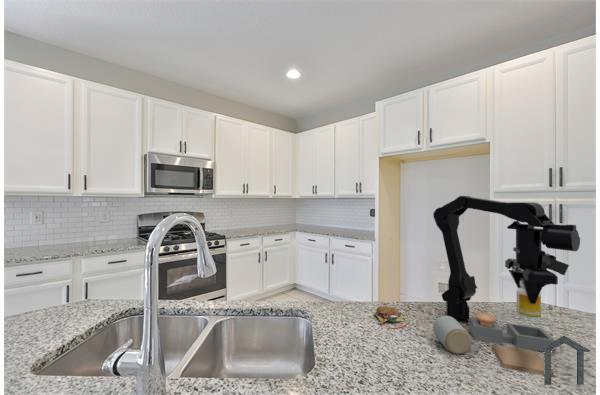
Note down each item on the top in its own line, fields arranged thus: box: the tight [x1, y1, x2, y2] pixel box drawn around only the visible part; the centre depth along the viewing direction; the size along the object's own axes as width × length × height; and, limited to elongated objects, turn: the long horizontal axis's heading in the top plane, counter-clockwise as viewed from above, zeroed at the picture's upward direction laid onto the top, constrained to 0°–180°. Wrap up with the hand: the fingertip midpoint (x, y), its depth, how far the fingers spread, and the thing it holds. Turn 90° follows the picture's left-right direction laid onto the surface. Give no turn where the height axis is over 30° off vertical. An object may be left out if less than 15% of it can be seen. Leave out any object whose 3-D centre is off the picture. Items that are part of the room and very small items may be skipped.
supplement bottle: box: [516, 281, 542, 320], centre depth 80 cm, size 5×5×10 cm
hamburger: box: [374, 305, 408, 330], centre depth 97 cm, size 14×14×6 cm
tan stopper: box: [474, 311, 497, 327], centre depth 85 cm, size 5×5×6 cm
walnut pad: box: [491, 343, 555, 378], centre depth 72 cm, size 10×10×1 cm
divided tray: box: [469, 316, 556, 355], centre depth 83 cm, size 19×9×4 cm, turn 69°
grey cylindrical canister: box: [432, 315, 480, 355], centre depth 78 cm, size 11×8×8 cm
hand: (528, 300), depth 80 cm, fingers closed on supplement bottle, 5 cm apart
